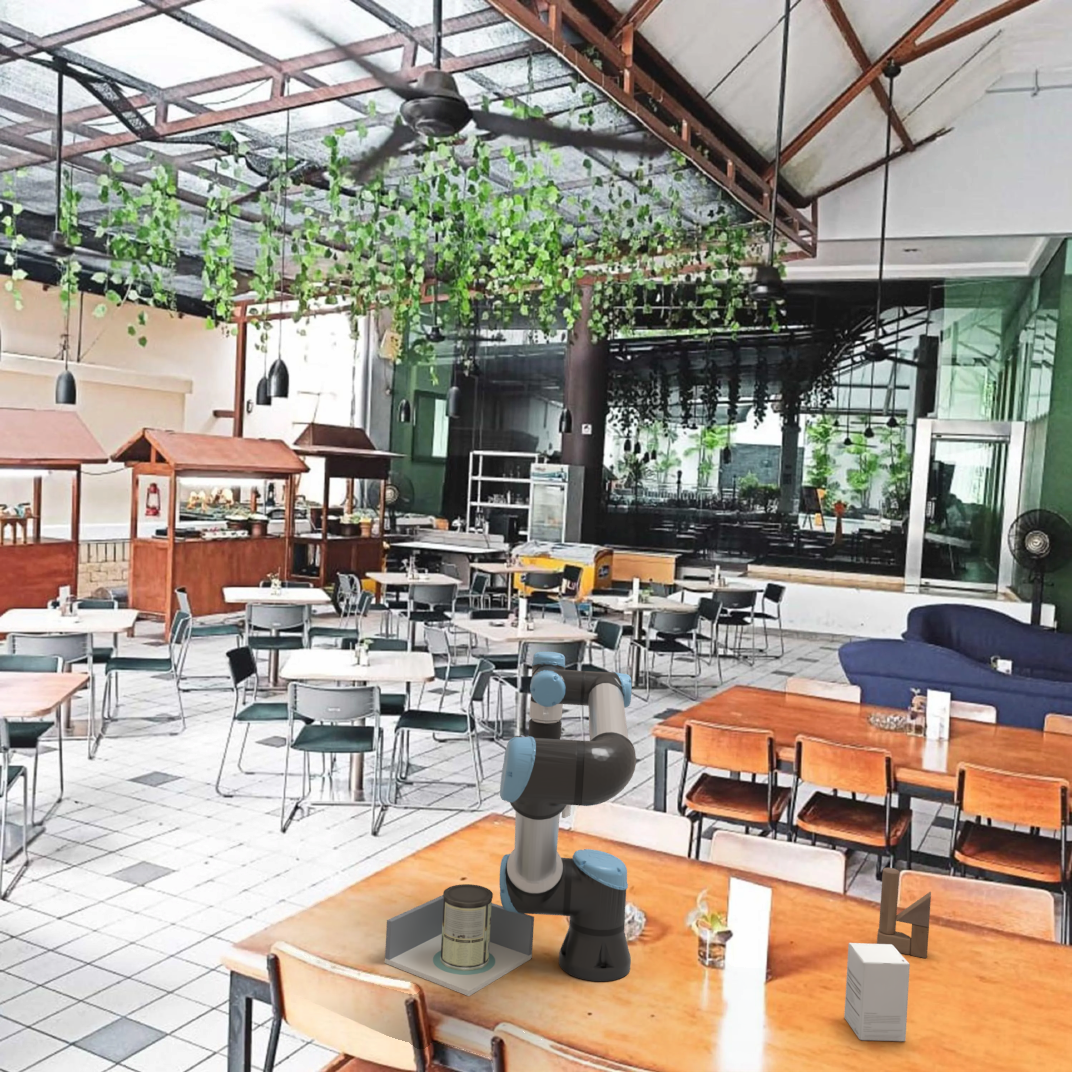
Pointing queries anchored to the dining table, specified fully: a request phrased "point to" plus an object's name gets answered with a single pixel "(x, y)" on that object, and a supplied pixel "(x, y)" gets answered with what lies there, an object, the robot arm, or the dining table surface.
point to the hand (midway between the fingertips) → (540, 810)
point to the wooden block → (903, 918)
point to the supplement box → (877, 992)
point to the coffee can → (466, 927)
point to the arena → (420, 946)
